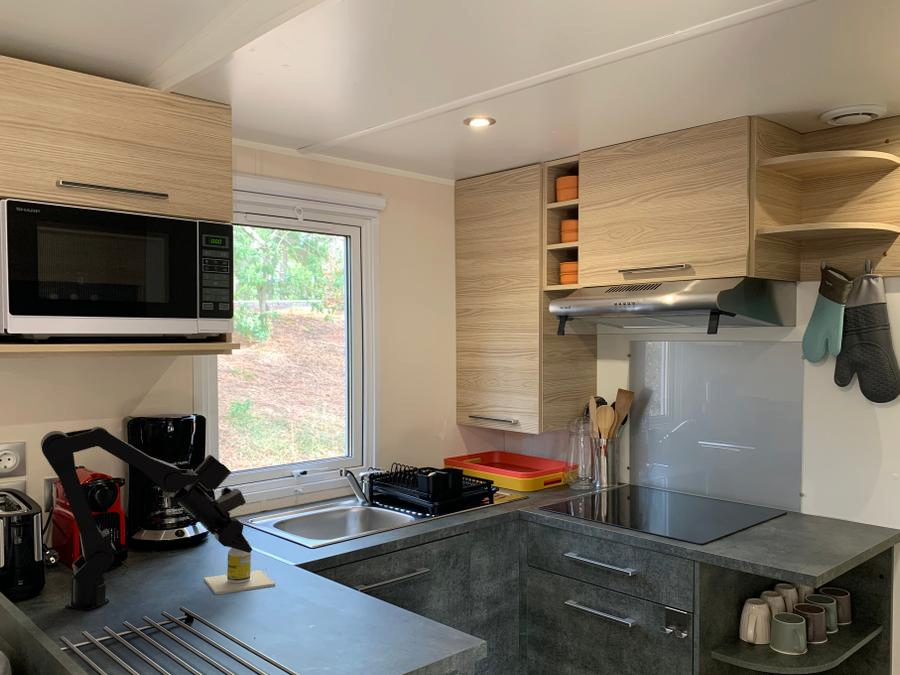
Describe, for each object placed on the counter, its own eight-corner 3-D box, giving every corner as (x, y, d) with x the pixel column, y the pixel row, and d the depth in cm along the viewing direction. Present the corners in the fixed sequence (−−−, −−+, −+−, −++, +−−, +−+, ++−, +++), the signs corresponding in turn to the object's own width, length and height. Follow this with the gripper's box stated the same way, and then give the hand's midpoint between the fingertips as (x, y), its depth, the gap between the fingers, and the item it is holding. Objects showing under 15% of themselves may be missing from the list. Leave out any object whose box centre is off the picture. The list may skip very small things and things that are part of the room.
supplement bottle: (223, 579, 184) (224, 539, 185) (243, 575, 188) (245, 535, 188) (233, 585, 180) (234, 543, 180) (254, 581, 184) (255, 540, 184)
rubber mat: (215, 594, 175) (215, 592, 175) (204, 580, 186) (204, 577, 186) (275, 585, 182) (275, 583, 182) (260, 572, 193) (260, 569, 193)
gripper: (234, 485, 174) (280, 529, 180) (215, 473, 190) (258, 513, 196) (198, 523, 170) (247, 566, 176) (182, 507, 186) (226, 547, 192)
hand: (245, 546), depth 185 cm, fingers open, 9 cm apart
